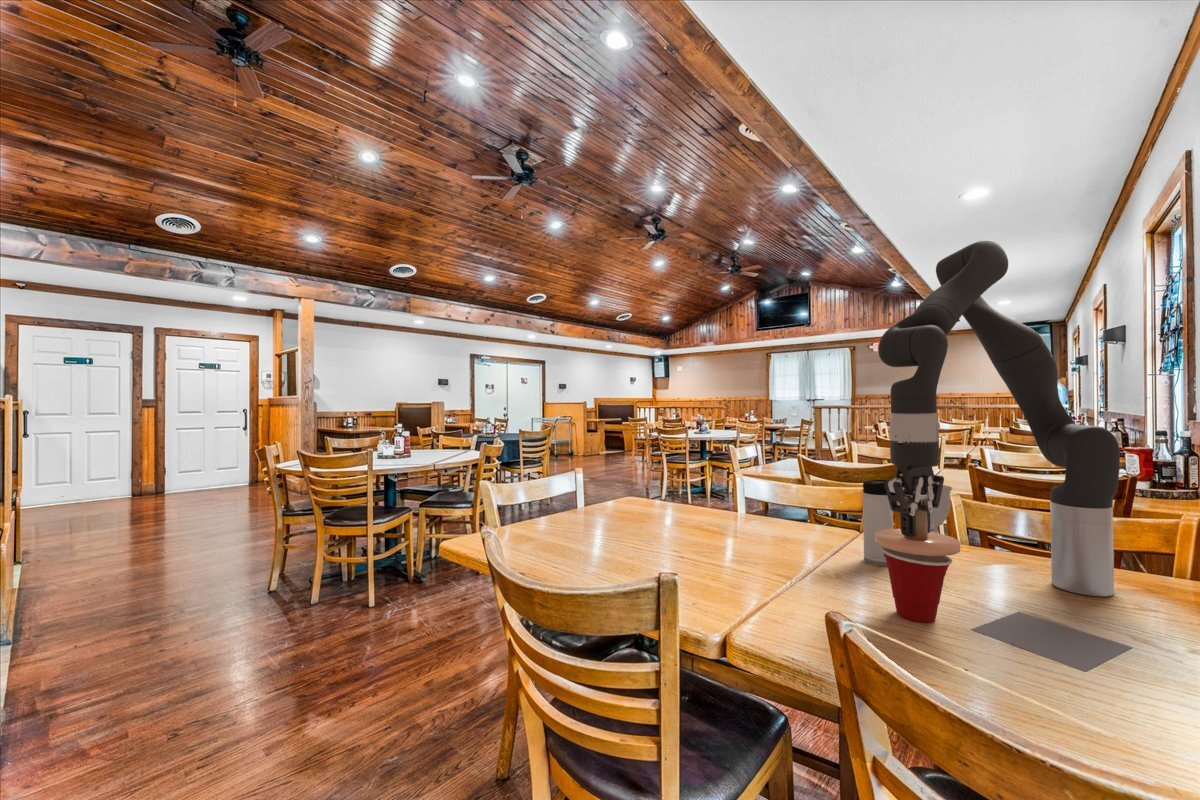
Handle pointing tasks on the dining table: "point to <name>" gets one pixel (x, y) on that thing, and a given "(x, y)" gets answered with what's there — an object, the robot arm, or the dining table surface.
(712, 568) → the dining table surface
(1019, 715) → the dining table surface
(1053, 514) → the robot arm
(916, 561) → the plastic cup
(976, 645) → the dining table surface
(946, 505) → the chalice
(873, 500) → the travel mug
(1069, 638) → the mat
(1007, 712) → the dining table surface
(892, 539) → the lid
